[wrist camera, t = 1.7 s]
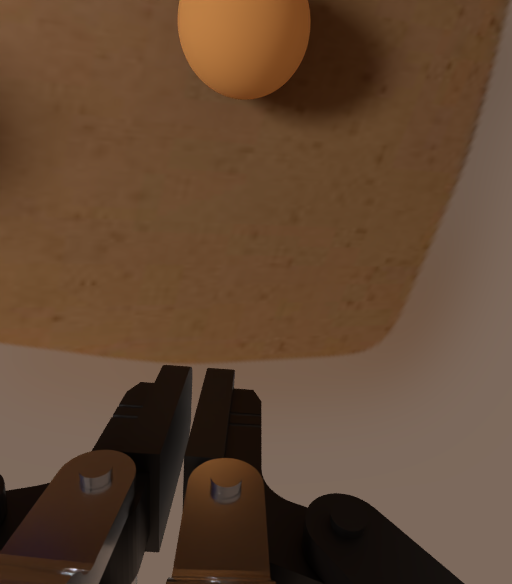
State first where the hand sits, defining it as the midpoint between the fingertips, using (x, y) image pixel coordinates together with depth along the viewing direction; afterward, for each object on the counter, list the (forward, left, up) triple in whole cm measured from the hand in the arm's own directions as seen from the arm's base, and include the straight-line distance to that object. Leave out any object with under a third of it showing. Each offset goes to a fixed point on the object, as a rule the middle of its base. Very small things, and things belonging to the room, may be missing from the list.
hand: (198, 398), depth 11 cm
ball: (-12, 0, -12) cm, 17 cm away
